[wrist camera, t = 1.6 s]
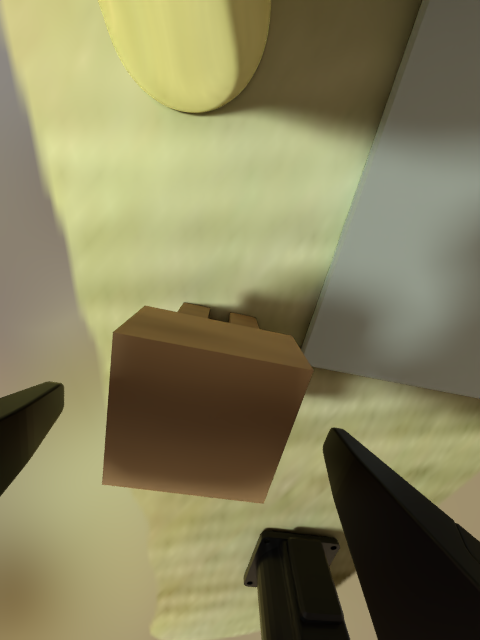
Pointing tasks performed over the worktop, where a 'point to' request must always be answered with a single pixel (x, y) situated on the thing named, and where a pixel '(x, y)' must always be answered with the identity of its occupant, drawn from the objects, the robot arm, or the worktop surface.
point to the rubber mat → (414, 224)
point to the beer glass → (189, 47)
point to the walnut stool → (200, 403)
